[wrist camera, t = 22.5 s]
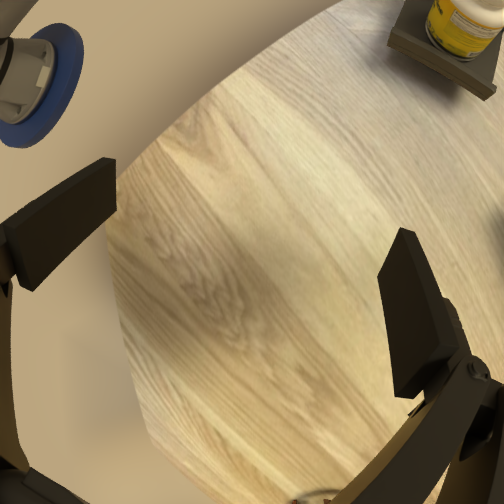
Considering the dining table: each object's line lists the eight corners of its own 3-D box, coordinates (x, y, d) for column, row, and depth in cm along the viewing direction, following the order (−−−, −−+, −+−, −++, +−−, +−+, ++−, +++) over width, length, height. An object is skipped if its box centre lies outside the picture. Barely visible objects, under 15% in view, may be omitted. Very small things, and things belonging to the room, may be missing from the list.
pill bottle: (432, 4, 21) (458, -62, 10) (483, 35, 20) (526, -19, 10) (416, 41, 22) (445, -28, 12) (471, 74, 22) (521, 22, 11)
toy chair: (380, 66, 29) (402, -15, 14) (409, 0, 26) (430, -79, 12) (466, 114, 27) (532, 64, 13) (486, 43, 25) (536, -18, 10)
